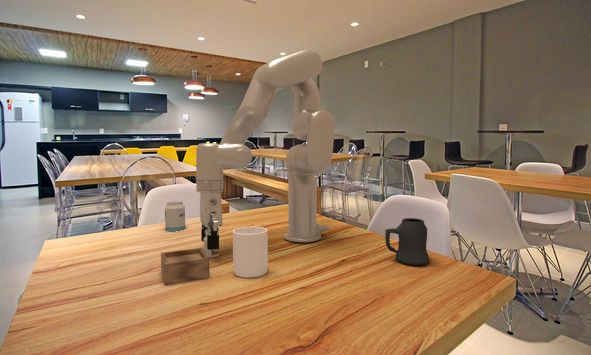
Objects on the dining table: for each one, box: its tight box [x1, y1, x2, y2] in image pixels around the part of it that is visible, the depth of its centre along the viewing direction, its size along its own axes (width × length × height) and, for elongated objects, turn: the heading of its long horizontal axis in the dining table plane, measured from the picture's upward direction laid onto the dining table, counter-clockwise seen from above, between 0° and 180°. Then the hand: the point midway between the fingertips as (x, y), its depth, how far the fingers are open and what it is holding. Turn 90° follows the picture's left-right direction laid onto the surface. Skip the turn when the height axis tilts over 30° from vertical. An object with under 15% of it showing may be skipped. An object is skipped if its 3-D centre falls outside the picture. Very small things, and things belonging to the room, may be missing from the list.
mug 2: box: [384, 217, 430, 266], centre depth 93 cm, size 12×9×11 cm
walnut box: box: [160, 247, 211, 286], centre depth 82 cm, size 10×10×5 cm
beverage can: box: [164, 201, 186, 233], centre depth 123 cm, size 7×7×12 cm
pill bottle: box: [203, 229, 220, 259], centre depth 97 cm, size 4×4×8 cm
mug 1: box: [232, 226, 269, 279], centre depth 85 cm, size 9×12×11 cm
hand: (209, 244), depth 97 cm, fingers open, 9 cm apart
